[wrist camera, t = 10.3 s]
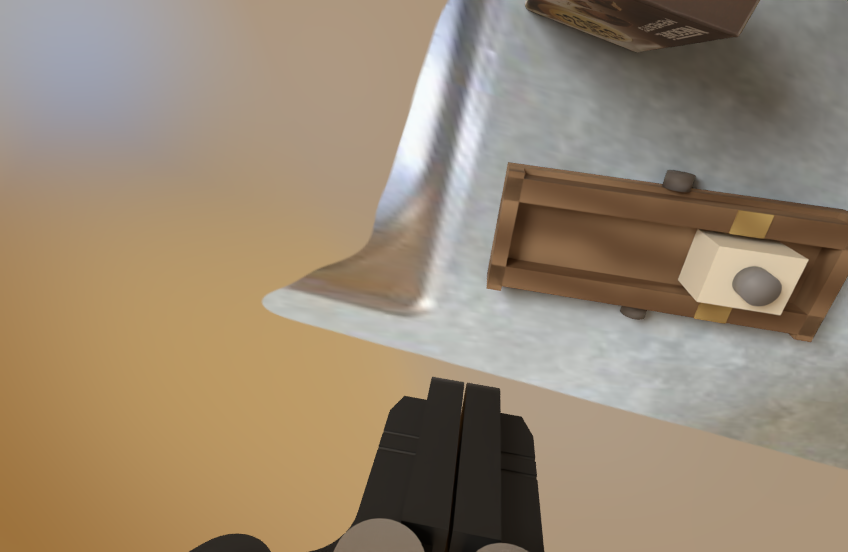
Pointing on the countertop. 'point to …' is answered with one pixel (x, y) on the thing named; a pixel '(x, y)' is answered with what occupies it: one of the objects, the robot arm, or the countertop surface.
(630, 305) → the wooden slider track
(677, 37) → the coffee box
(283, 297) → the countertop surface
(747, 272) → the rider
